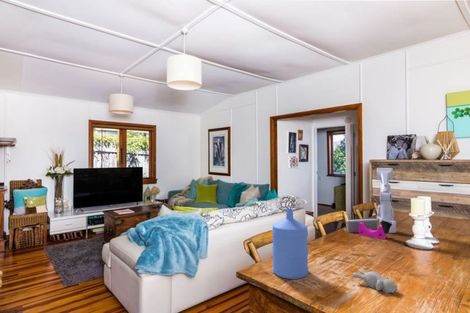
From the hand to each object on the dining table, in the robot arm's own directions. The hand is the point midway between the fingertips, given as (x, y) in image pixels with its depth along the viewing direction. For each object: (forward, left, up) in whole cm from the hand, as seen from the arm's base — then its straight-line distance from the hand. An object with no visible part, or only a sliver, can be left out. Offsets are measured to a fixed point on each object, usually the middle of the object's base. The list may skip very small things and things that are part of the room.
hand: (386, 233), depth 166 cm
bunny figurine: (+48, +53, -4) cm, 71 cm away
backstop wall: (+2, -23, -4) cm, 23 cm away
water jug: (+76, +34, -4) cm, 83 cm away
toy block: (+2, -9, -4) cm, 11 cm away
